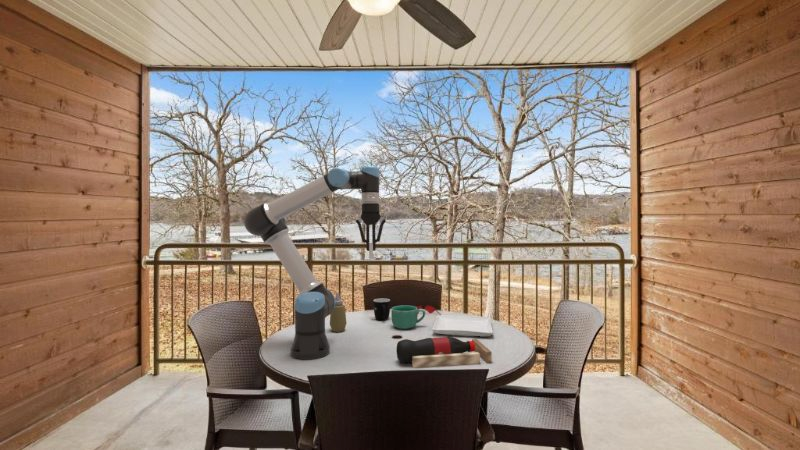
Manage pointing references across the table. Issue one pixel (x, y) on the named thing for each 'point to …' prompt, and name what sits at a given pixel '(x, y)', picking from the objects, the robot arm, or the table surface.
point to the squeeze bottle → (338, 316)
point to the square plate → (463, 325)
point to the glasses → (427, 308)
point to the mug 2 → (405, 316)
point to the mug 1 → (381, 309)
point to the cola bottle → (431, 347)
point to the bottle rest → (454, 357)
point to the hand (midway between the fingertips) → (371, 258)
